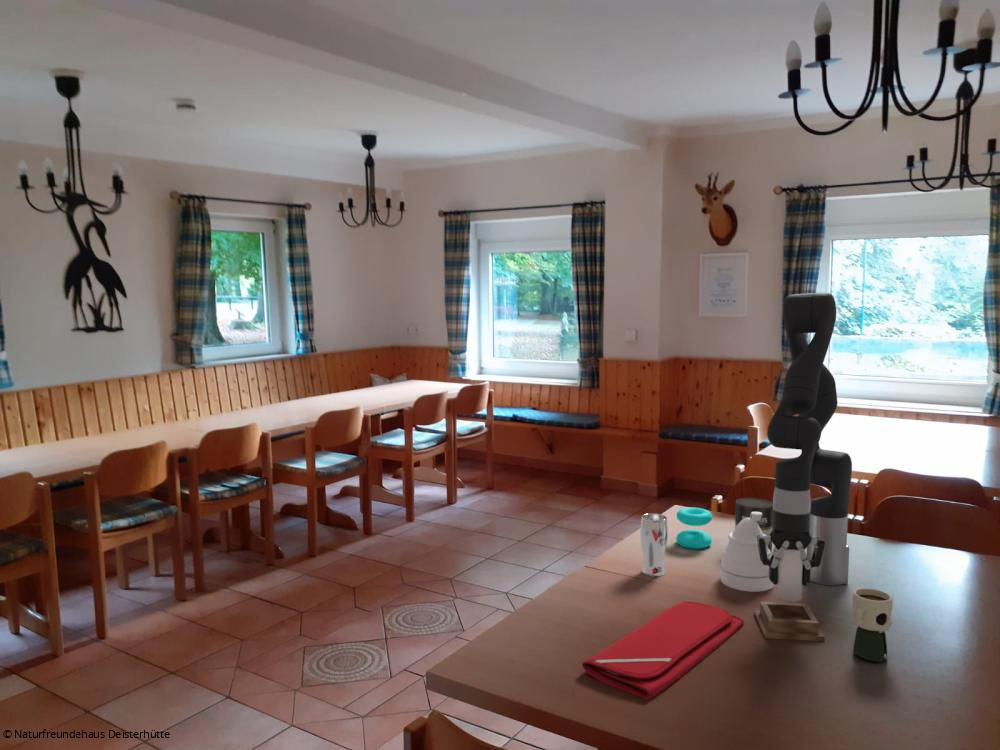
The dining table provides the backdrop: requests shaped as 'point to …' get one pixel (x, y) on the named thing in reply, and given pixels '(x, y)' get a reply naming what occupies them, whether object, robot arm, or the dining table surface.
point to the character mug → (871, 622)
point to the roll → (789, 576)
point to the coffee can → (756, 505)
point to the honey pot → (745, 558)
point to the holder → (788, 621)
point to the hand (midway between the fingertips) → (788, 583)
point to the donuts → (694, 537)
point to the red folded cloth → (663, 648)
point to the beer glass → (653, 543)
